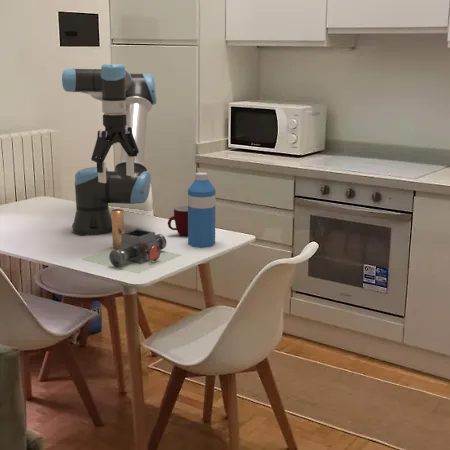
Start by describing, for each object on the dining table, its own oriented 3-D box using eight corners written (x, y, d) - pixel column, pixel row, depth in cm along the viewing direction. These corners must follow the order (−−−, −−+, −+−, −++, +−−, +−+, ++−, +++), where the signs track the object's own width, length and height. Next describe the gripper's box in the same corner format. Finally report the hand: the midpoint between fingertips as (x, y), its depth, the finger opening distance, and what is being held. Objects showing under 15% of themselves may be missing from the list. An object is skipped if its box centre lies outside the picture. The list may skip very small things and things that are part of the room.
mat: (80, 260, 220) (80, 259, 220) (126, 243, 237) (126, 242, 237) (138, 274, 207) (138, 273, 207) (182, 256, 225) (182, 254, 225)
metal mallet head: (106, 265, 214) (105, 239, 212) (151, 248, 232) (150, 223, 229) (132, 271, 208) (132, 245, 206) (176, 253, 226) (176, 228, 224)
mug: (174, 240, 242) (174, 213, 239) (164, 235, 248) (163, 208, 246) (200, 236, 247) (200, 209, 244) (189, 231, 254) (189, 205, 251)
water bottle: (187, 241, 241) (187, 171, 235) (214, 240, 242) (214, 170, 236) (188, 249, 232) (188, 176, 226) (216, 248, 233) (216, 176, 227)
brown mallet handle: (110, 248, 231) (108, 210, 227) (118, 245, 234) (117, 208, 231) (119, 250, 229) (118, 212, 225) (127, 247, 232) (126, 210, 229)
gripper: (96, 117, 207) (98, 186, 213) (148, 111, 228) (149, 174, 233) (77, 116, 211) (81, 184, 217) (131, 109, 232) (132, 171, 237)
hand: (116, 179), depth 225 cm, fingers open, 13 cm apart
